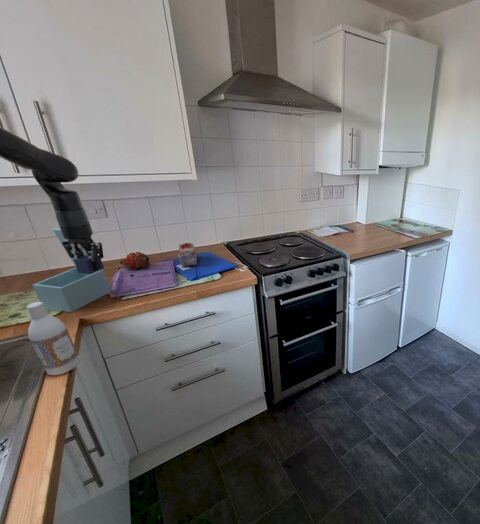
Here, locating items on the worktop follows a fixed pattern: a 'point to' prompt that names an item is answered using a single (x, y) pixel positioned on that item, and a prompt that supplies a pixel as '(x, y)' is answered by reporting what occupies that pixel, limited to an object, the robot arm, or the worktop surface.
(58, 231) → the lid
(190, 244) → the food item
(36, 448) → the worktop surface
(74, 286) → the light blue storage bin
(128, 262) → the dragon fruit
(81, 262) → the block
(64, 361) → the bath foam
